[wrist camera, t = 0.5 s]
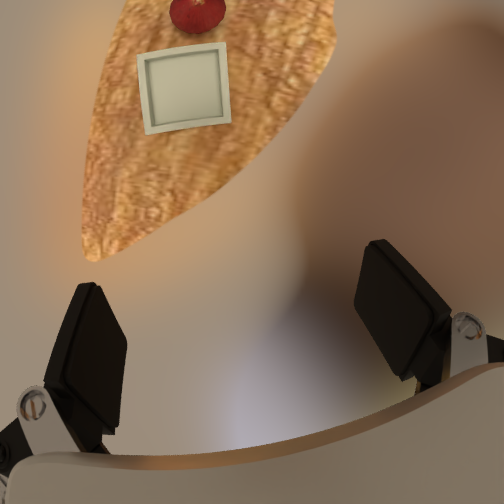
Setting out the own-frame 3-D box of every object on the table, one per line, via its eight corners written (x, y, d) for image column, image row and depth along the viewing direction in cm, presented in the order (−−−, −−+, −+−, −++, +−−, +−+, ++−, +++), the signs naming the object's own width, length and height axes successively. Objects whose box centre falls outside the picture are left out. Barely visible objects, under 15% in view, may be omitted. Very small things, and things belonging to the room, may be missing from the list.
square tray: (141, 57, 25) (136, 54, 22) (223, 45, 26) (225, 41, 23) (149, 132, 30) (145, 135, 27) (228, 120, 31) (231, 122, 29)
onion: (162, 16, 22) (153, -5, 15) (204, -10, 21) (206, -35, 14) (191, 47, 25) (189, 33, 19) (232, 22, 24) (242, 2, 17)
